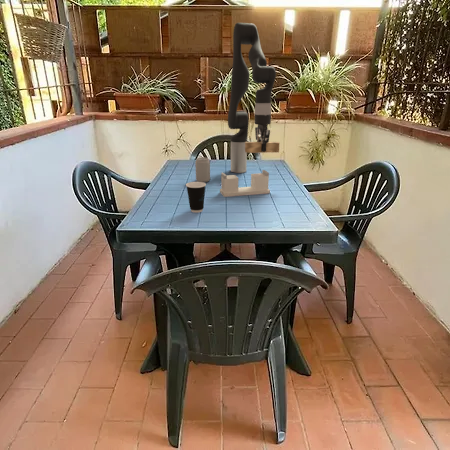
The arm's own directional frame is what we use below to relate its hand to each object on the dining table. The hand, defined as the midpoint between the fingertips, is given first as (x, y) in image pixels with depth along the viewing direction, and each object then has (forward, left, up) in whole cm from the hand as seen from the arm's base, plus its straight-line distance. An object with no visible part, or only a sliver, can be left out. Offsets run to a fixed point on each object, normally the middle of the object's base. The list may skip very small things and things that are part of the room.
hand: (261, 150), depth 167 cm
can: (-17, -26, -18) cm, 36 cm away
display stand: (+9, -11, -18) cm, 23 cm away
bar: (0, 0, -1) cm, 1 cm away
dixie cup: (+28, -37, -18) cm, 49 cm away
